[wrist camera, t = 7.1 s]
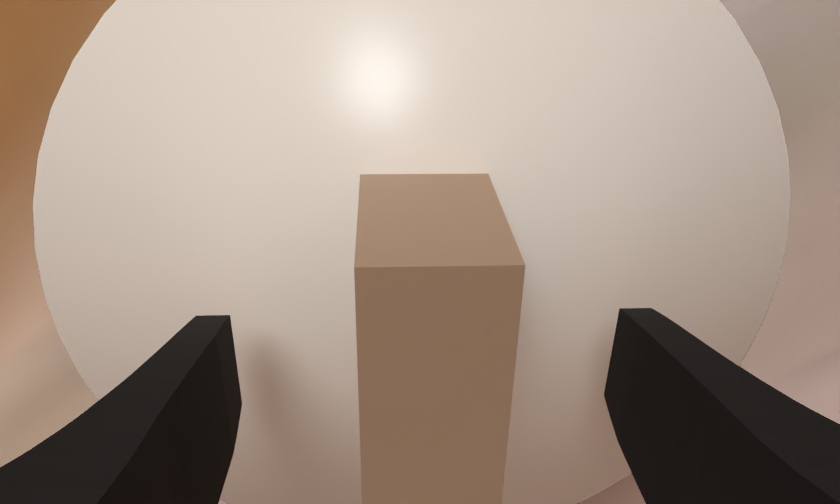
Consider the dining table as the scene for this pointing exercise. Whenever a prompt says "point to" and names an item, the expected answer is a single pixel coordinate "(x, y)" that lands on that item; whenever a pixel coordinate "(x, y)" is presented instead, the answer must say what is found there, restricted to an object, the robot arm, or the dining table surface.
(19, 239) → the dining table surface
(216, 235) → the cover
